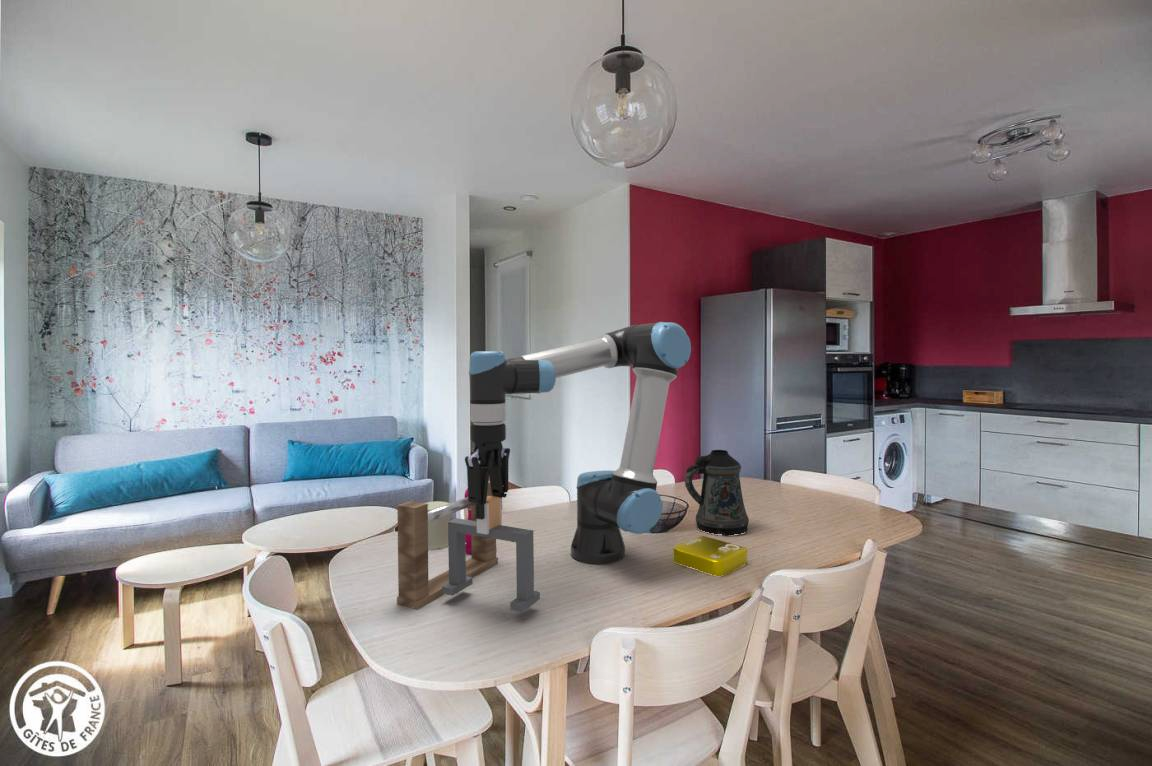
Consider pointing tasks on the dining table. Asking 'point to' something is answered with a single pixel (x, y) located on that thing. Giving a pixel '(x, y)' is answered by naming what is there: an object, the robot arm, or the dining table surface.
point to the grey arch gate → (496, 531)
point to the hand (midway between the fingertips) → (489, 529)
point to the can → (438, 528)
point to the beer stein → (718, 494)
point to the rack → (415, 551)
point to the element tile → (710, 555)
